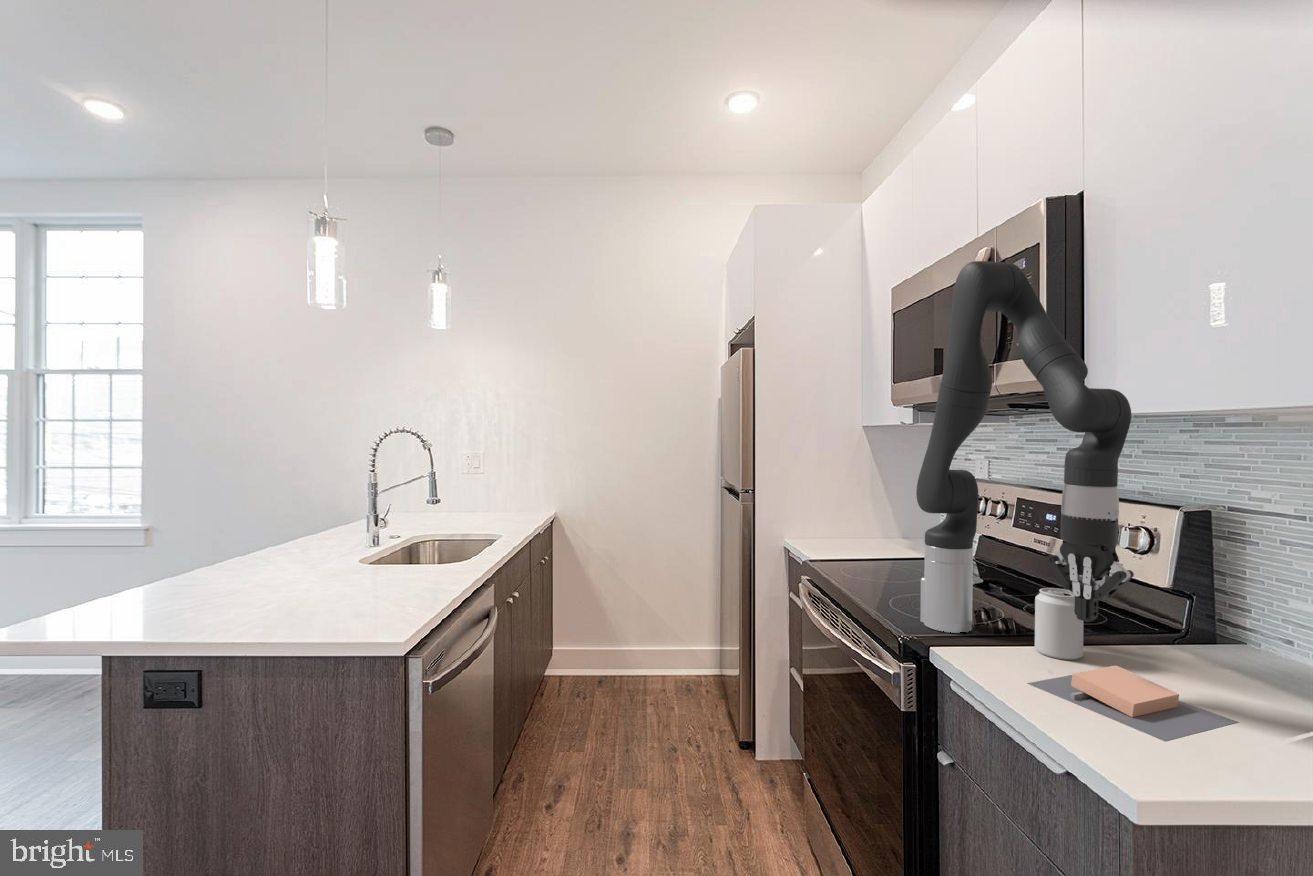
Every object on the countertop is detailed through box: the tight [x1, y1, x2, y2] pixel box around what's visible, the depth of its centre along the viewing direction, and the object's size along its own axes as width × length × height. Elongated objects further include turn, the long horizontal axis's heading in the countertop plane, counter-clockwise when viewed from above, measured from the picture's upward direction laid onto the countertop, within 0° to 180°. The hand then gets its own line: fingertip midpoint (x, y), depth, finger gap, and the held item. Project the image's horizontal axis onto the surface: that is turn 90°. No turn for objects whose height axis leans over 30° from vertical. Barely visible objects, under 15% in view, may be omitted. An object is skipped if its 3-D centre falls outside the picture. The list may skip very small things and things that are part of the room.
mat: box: [1026, 674, 1239, 742], centre depth 94 cm, size 20×16×1 cm
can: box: [1034, 587, 1084, 661], centre depth 114 cm, size 8×8×12 cm
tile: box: [1071, 665, 1180, 717], centre depth 94 cm, size 2×10×9 cm
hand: (1086, 620), depth 99 cm, fingers closed
